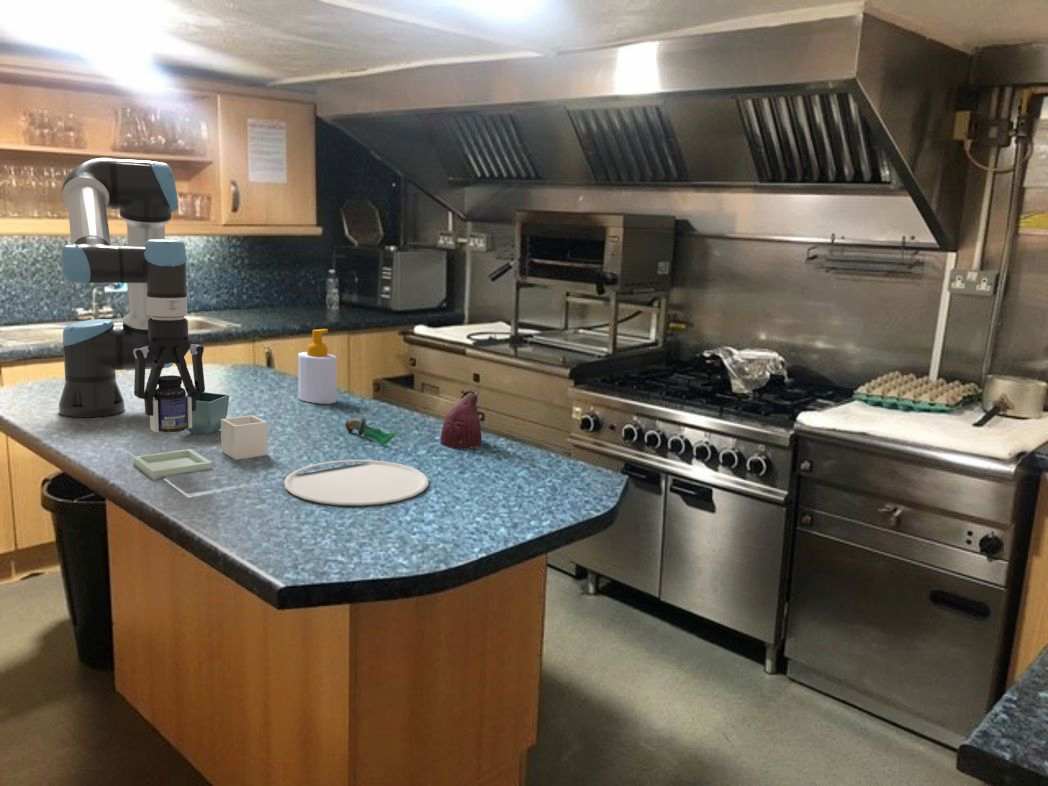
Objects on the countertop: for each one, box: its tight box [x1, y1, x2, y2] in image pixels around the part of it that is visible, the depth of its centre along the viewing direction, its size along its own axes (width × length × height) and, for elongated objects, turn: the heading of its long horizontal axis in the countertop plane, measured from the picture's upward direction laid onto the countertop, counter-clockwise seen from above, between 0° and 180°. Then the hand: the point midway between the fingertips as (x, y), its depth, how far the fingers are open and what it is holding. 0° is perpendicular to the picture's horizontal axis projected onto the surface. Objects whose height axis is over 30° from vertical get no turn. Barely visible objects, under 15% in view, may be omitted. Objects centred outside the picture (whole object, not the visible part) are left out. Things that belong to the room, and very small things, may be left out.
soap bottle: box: [297, 328, 338, 405], centre depth 246 cm, size 13×8×20 cm, turn 58°
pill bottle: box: [154, 374, 187, 433], centre depth 177 cm, size 6×6×11 cm
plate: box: [283, 459, 429, 507], centre depth 176 cm, size 29×29×1 cm
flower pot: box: [185, 391, 230, 435], centre depth 207 cm, size 9×9×9 cm
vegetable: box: [440, 390, 482, 450], centre depth 209 cm, size 10×10×15 cm
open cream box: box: [220, 414, 268, 460], centre depth 190 cm, size 7×7×8 cm
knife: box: [344, 418, 398, 446], centre depth 208 cm, size 21×2×5 cm, turn 44°
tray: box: [132, 448, 213, 481], centre depth 180 cm, size 12×12×2 cm
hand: (171, 428), depth 178 cm, fingers closed on pill bottle, 6 cm apart
